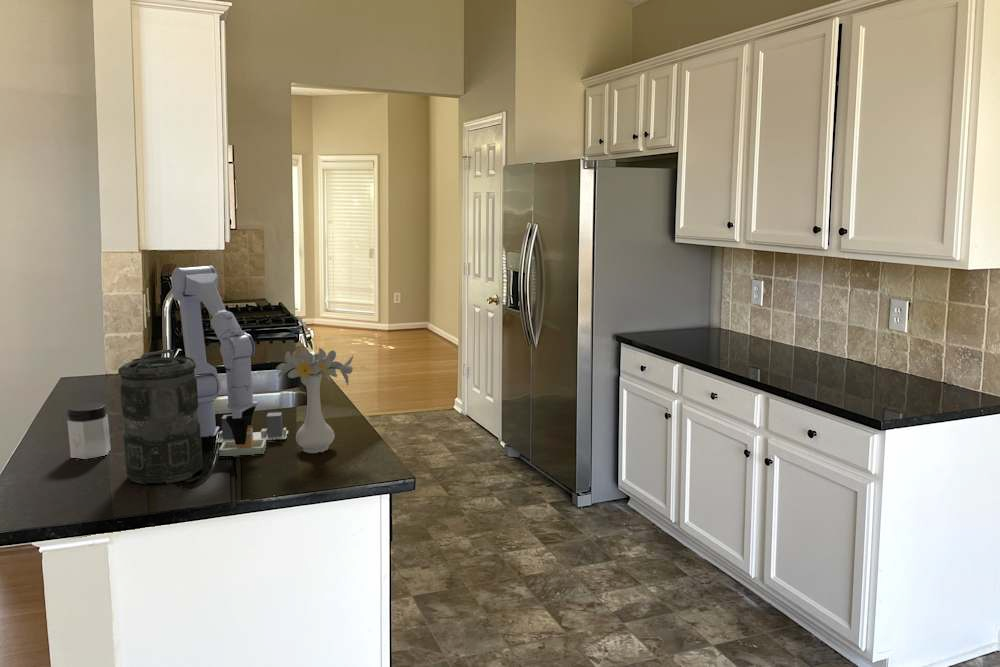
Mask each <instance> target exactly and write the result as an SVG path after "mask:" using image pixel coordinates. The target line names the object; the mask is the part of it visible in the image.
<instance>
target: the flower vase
mask: <svg viewBox="0 0 1000 667" xmlns="http://www.w3.org/2000/svg"><path fill="white" fill-rule="evenodd" d="M299 352H300V354H299V355H300V358H299V357H298V356H296V354H297V350H294V351H293V352H292V354H291V352H290V351H289V350H288V351H286V353H285V355H284V361H285V362H283V363H280V364H278V365H277V366H276V367H275V370H276V371H280V372H279V373H278V375H277V377H278V378H279V377H281V376H283V375H284V374H285V373H287V372H288V374H287V377H288V378H289V379H295V378H297V377H300V380H301V383H302V384H303V385H304V386H306V387H305V388H306V394H307V396H306V398H307V399H306V402H307V404H306V406H307V407H306V416H305V419H304V421H303V424H302V425H301V426H300V427H299V428H298V430H297V432H296V434H295V441H296V443H297V445H299V446H300V447H302V451H303V452H304V453H306V452H307V453H306V454H319V453H318V452H321V453H324V451H325V452H326V450H327V451H328V450H329V449H330V446H329V445H331V444H332V443H333V442H334V440H335V437H336V435H335V431H334V430H333V429H332V428H333V427H331V426H330V424H328V423H327V422H326V421H325V419H324V416H323V414H322V413H323V412H322V408H321V407H322V406H321V397H320V395H321V394H320V393H321V392H320V388H321V380H322V377H323V376H324V377H325V378H326V379H327V380H329V381H331V380H332V379H331V377H335V378H337V377H338V374H337V370H340V373H341V375H342V376H343V379H344V381H345V383H346V385H347V386H349V375H351V373H352V372H353V369H354V368H353V366H352V365H351V364H352V361H353V359H354V355H351V356H350V358H349V359H348V360H347V361H346V362H345V363H344V364H343V363H341V362H339V361H336V360H335V359H336V357H337V353H336V351H335V350H333V349H332V350H330V351H329V352H328V353H326V351H325V350H324V349H323V348H321V347H320V348H318V353H314V354H312V353H309V351H308V350H307V348H301V349H300V351H299Z"/></svg>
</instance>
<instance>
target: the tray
mask: <svg viewBox="0 0 1000 667" xmlns="http://www.w3.org/2000/svg"><path fill="white" fill-rule="evenodd" d="M267 442H268V441H267ZM267 442H266V439H257V440H253V447H251V448H236V443H235V441H224V442H223V443H222V444H220V447H219V449H218V455H219V456H233V457H240V456H239V455H251V456H255V455H254V454H265V452H266V449H267V447H266V445H267ZM267 446H268V445H267ZM265 448H266V449H265ZM264 451H265V452H264ZM219 456H218V457H219Z"/></svg>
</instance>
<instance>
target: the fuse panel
mask: <svg viewBox="0 0 1000 667" xmlns="http://www.w3.org/2000/svg"><path fill="white" fill-rule="evenodd" d="M226 416H232V414H223V415H222V417H221V430H220V431H219V432H218V438H217V441H216V444H217V443H223V442H224V441H235V440H234V437H233V433H232V430H231V428H230V426H229V424H228V423H227V421H226ZM287 434H288V435H289V430H287V427H284V425H283V413H282V411H281V412H267V414H266V428H261V431H256V432H255V431H254V432H253V440H257V439H266V440H272V439H273V440H275V439H286V438H287V439H288V436H287Z"/></svg>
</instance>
